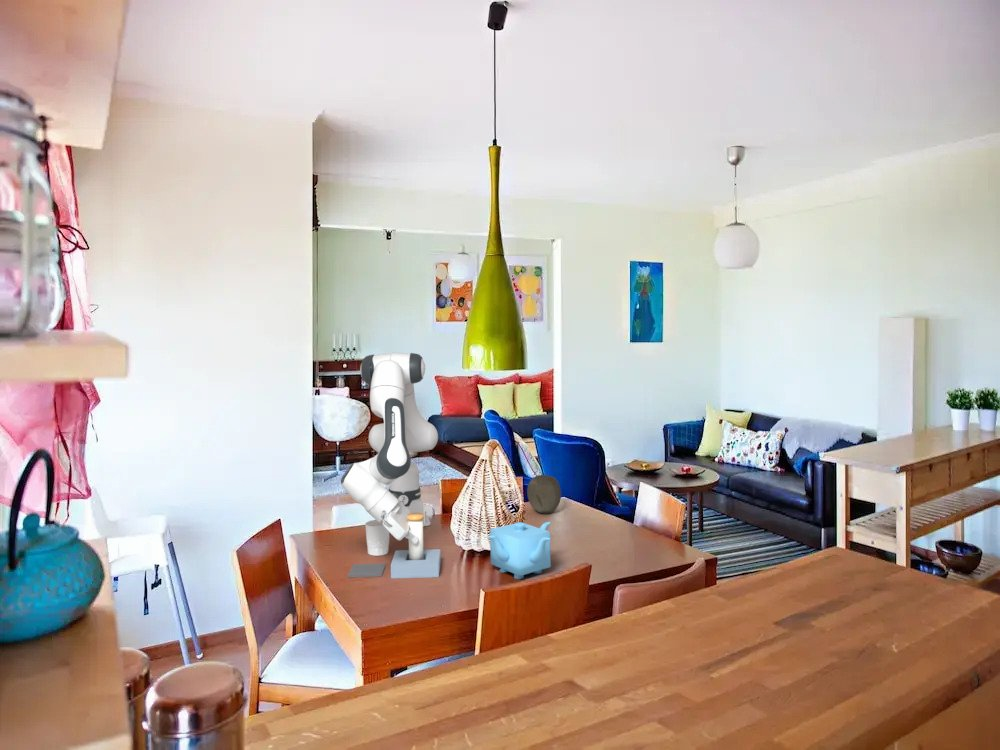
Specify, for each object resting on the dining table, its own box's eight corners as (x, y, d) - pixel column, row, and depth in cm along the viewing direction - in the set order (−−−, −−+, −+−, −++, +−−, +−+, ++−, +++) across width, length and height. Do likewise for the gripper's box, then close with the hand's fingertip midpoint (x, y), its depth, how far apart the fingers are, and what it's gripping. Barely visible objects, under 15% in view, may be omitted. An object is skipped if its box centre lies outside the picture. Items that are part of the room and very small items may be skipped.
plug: (409, 564, 213) (407, 513, 212) (425, 564, 214) (424, 512, 213) (407, 570, 208) (406, 517, 207) (424, 570, 209) (423, 516, 208)
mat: (353, 566, 215) (353, 564, 215) (385, 565, 216) (385, 563, 216) (347, 577, 206) (347, 575, 205) (381, 576, 206) (381, 574, 206)
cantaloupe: (569, 513, 275) (568, 476, 274) (539, 519, 268) (538, 480, 267) (549, 506, 287) (548, 470, 286) (520, 511, 280) (519, 474, 279)
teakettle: (494, 561, 219) (493, 515, 218) (553, 562, 216) (553, 515, 216) (486, 582, 200) (485, 532, 199) (551, 583, 198) (550, 533, 197)
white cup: (392, 549, 232) (392, 519, 232) (386, 556, 224) (386, 526, 224) (370, 548, 233) (369, 519, 232) (363, 556, 225) (362, 525, 225)
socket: (396, 562, 218) (395, 550, 218) (440, 561, 219) (440, 549, 218) (391, 578, 204) (390, 565, 204) (438, 577, 205) (438, 563, 204)
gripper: (387, 508, 199) (422, 541, 200) (395, 492, 220) (427, 522, 221) (372, 524, 199) (407, 557, 200) (381, 506, 220) (413, 536, 221)
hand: (418, 538), depth 211 cm, fingers closed on plug, 4 cm apart
